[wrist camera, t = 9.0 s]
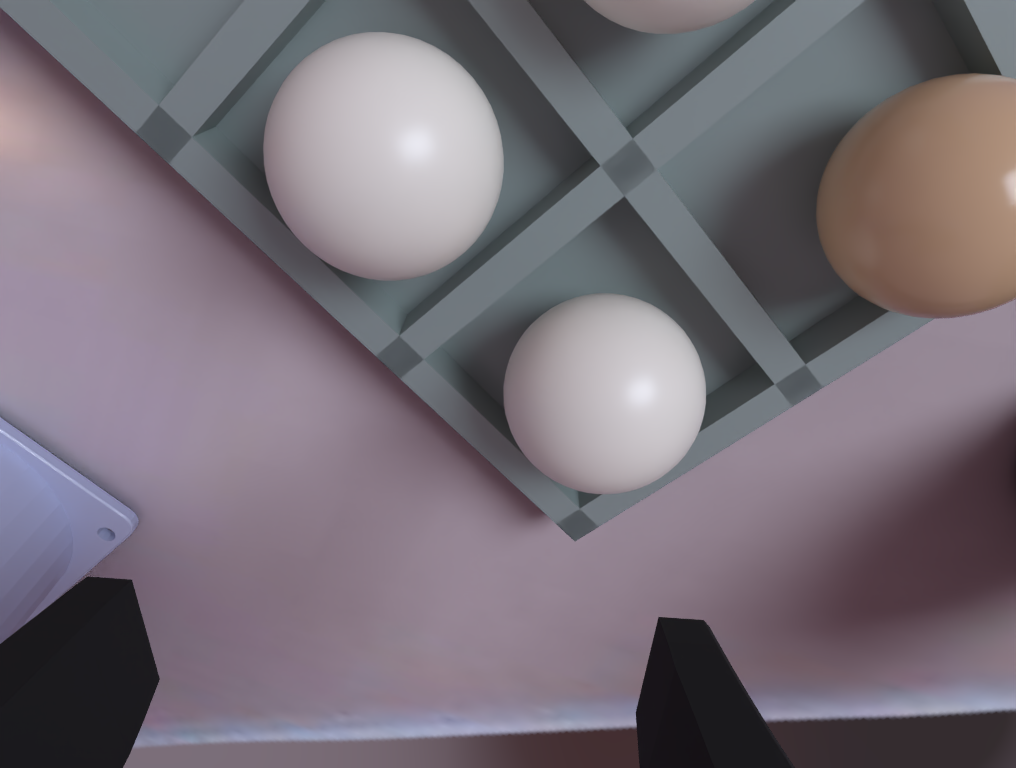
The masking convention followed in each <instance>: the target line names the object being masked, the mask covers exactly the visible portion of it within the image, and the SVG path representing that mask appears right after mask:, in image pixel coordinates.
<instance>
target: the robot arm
mask: <svg viewBox="0 0 1016 768" xmlns="http://www.w3.org/2000/svg"><path fill="white" fill-rule="evenodd" d="M137 526H138V518H137V516H136V514H135V513H134V512H133V511H132V510H131V509H130V508H128V507H127V506H125V505H124V504H122V503H121V502H120V501H118V500H117V499H115V498H114V497H113V496H111V495H110V494H108V493H107V492H105V491H104V490H103V489H101V488H100V487H98V486H97V485H96V484H94V483H93V482H91V481H90V480H88V479H87V478H86V477H84V476H83V475H81V474H80V473H79V472H77V471H76V470H74V469H73V468H71V467H70V466H69V465H67V464H66V463H64V462H63V461H62V460H60V459H59V458H57V457H56V456H54V455H53V454H52V453H50V452H49V451H47V450H46V449H45V448H43V447H42V446H40V445H39V444H37V443H36V442H35V441H33V440H32V439H30V438H29V437H28V436H26V435H25V434H23V433H22V432H20V431H19V430H18V429H16V428H15V427H13V426H12V425H11V424H9V423H8V422H6V421H5V420H3V419H2V418H1V417H0V768H123V766H124V764H125V762H126V760H127V758H128V757H129V754H130V752H131V750H132V747H133V745H134V743H135V740H136V738H137V735H138V733H139V731H140V728H141V726H142V723H143V721H144V718H145V716H146V713H147V711H148V708H149V706H150V703H151V700H152V698H153V695H154V693H155V690H156V687H157V685H158V682H159V680H160V679H159V675H158V672H157V668H156V664H155V661H154V657H153V654H152V650H151V647H150V643H149V639H148V636H147V632H146V629H145V625H144V622H143V618H142V614H141V611H140V607H139V604H138V600H137V596H136V593H135V589H134V586H133V582H132V580H127V579H113V578H99V577H86V578H85V579H84V580H82V581H81V582H80V583H78V584H77V585H76V586H74V587H73V588H72V589H70V590H69V591H68V592H66V591H67V590H68V589H69V588H70V587H72V586H73V585H74V584H75V583H76V582H77V581H79V580H80V579H81V578H82V577H83V576H84V575H85V574H87V573H88V572H89V571H90V570H91V569H92V568H93V567H95V566H96V565H97V564H98V563H99V562H100V561H102V560H103V559H104V558H105V557H106V556H107V555H108V554H110V553H111V552H112V551H113V550H114V549H115V548H116V547H118V546H119V545H120V544H121V543H122V542H123V541H125V540H126V539H127V538H128V537H129V536H130V535H131V534H132V533H133V531H134V530H135V529H136V527H137ZM107 528H108V529H110V530H112V531H113V532H112V531H110V530H108V529H107ZM65 592H66V593H65ZM64 593H65V594H64ZM62 594H64V595H62ZM61 595H62V596H61ZM60 596H61V597H60ZM59 597H60V598H59ZM54 601H55V602H54ZM636 722H637V735H638V750H639V763H640V768H795V767H794V766H793V764H792V763H791V761H790V760H789V758H788V757H787V755H786V754H785V752H784V750H783V749H782V748H781V746H780V745H779V743H778V741H777V740H776V738H775V737H774V735H773V733H772V732H771V730H770V729H769V727H768V726H767V724H766V722H765V721H764V719H763V718H762V716H761V714H760V713H759V711H758V709H757V708H756V706H755V704H754V703H753V701H752V700H751V698H750V696H749V695H748V693H747V691H746V690H745V688H744V686H743V685H742V683H741V681H740V680H739V678H738V676H737V674H736V673H735V671H734V669H733V668H732V666H731V664H730V662H729V661H728V659H727V657H726V655H725V654H724V652H723V650H722V648H721V647H720V645H719V643H718V641H717V640H716V638H715V636H714V634H713V632H712V630H711V629H710V627H709V626H708V625H707V624H706V622H705V621H704V620H694V619H679V618H665V617H659V618H658V622H657V626H656V631H655V635H654V639H653V643H652V647H651V651H650V656H649V660H648V664H647V668H646V672H645V677H644V681H643V685H642V689H641V693H640V698H639V702H638V706H637V710H636Z"/></svg>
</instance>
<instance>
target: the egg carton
mask: <svg viewBox="0 0 1016 768" xmlns="http://www.w3.org/2000/svg"><path fill="white" fill-rule="evenodd" d="M0 8H1V9H3V10H4V11H5V12H6V13H7V14H8V15H9V16H10V17H11V18H12V19H13V20H14V21H15V22H17V23H18V24H19V25H20V26H21V27H22V28H23V29H24V30H25V31H26V32H27V33H28V34H29V35H31V36H32V37H33V38H34V39H35V40H36V41H37V42H38V43H39V44H40V45H41V46H42V47H43V48H45V49H46V50H47V51H48V52H49V53H50V54H51V55H52V56H53V57H54V58H55V59H56V60H57V61H59V62H60V63H61V64H62V65H63V66H64V67H65V68H66V69H67V70H68V71H69V72H70V73H71V74H72V75H74V76H75V77H76V78H77V79H78V80H79V81H80V82H81V83H82V84H83V85H84V86H85V87H86V88H88V89H89V90H90V91H91V92H92V93H93V94H94V95H95V96H96V97H97V98H98V99H99V100H100V101H102V102H103V103H104V104H105V105H106V106H107V107H108V108H109V109H110V110H111V111H112V112H113V113H114V114H116V115H117V116H118V117H119V118H120V119H121V120H122V121H123V122H124V123H125V124H126V125H127V126H128V127H130V128H131V129H132V130H133V131H134V132H135V133H136V134H137V135H138V136H139V137H140V138H141V139H142V140H144V141H145V142H146V143H147V144H148V145H149V146H150V147H151V148H152V149H153V150H154V151H155V152H156V153H158V154H159V155H160V156H161V157H162V158H163V159H164V160H165V161H166V162H167V163H168V164H169V165H170V166H172V167H173V168H174V169H175V170H176V171H177V172H178V173H179V174H180V175H181V176H182V177H183V178H184V179H186V180H187V181H188V182H189V183H190V184H191V185H192V186H193V187H194V188H195V189H196V190H197V191H198V192H199V193H201V194H202V195H203V196H204V197H205V198H206V199H207V200H208V201H209V202H210V203H211V204H212V205H213V206H215V207H216V208H217V209H218V210H219V211H220V212H221V213H222V214H223V215H224V216H225V217H226V218H227V219H229V220H230V221H231V222H232V223H233V224H234V225H235V226H236V227H237V228H238V229H239V230H240V231H241V232H243V233H244V234H245V235H246V236H247V237H248V238H249V239H250V240H251V241H252V242H253V243H254V244H255V245H257V246H258V247H259V248H260V249H261V250H262V251H263V252H264V253H265V254H266V255H267V256H268V257H269V258H271V259H272V260H273V261H274V262H275V263H276V264H277V265H278V266H279V267H280V268H281V269H282V270H283V271H285V272H286V273H287V274H288V275H289V276H290V277H291V278H292V279H293V280H294V281H295V282H296V283H297V284H299V285H300V286H301V287H302V288H303V289H304V290H305V291H306V292H307V293H308V294H309V295H310V296H311V297H312V298H314V299H315V300H316V301H317V302H318V303H319V304H320V305H321V306H322V307H323V308H324V309H325V310H326V311H328V312H329V313H330V314H331V315H332V316H333V317H334V318H335V319H336V320H337V321H338V322H339V323H340V324H342V325H343V326H344V327H345V328H346V329H347V330H348V331H349V332H350V333H351V334H352V335H353V336H354V337H356V338H357V339H358V340H359V341H360V342H361V343H362V344H363V345H364V346H365V347H366V348H367V349H368V350H370V351H371V352H372V353H373V354H374V355H375V356H376V357H377V358H378V359H379V360H380V361H381V362H382V363H384V364H385V365H386V366H387V367H388V368H389V369H390V370H391V371H392V372H393V373H394V374H395V375H396V376H398V377H399V378H400V379H401V380H402V381H403V382H404V383H405V384H406V385H407V386H408V387H409V388H410V389H412V390H413V391H414V392H415V393H416V394H417V395H418V396H419V397H420V398H421V399H422V400H423V401H424V402H425V403H427V404H428V405H429V406H430V407H431V408H432V409H433V410H434V411H435V412H436V413H437V414H438V415H439V416H441V417H442V418H443V419H444V420H445V421H446V422H447V423H448V424H449V425H450V426H451V427H452V428H453V429H455V430H456V431H457V432H458V433H459V434H460V435H461V436H462V437H463V438H464V439H465V440H466V441H467V442H469V443H470V444H471V445H472V446H473V447H474V448H475V449H476V450H477V451H478V452H479V453H480V454H481V455H483V456H484V457H485V458H486V459H487V460H488V461H489V462H490V463H491V464H492V465H493V466H494V467H495V468H497V469H498V470H499V471H500V472H501V473H502V474H503V475H504V476H505V477H506V478H507V479H508V480H509V481H511V482H512V483H513V484H514V485H515V486H516V487H517V488H518V489H519V490H520V491H521V492H522V493H523V494H525V495H526V496H527V497H528V498H529V499H530V500H531V501H532V502H533V503H534V504H535V505H536V506H537V507H539V508H540V509H541V510H542V511H543V512H544V513H545V514H546V515H547V516H548V517H549V518H550V519H551V520H552V521H554V522H555V523H556V524H557V525H558V526H559V527H560V528H561V529H562V530H563V531H564V532H565V533H566V534H568V535H569V536H570V537H571V538H572V539H573V540H574V541H576V540H578V539H580V538H581V537H583V536H585V535H586V534H588V533H589V532H591V531H593V530H594V529H596V528H597V527H599V526H601V525H602V524H604V523H606V522H607V521H609V520H610V519H612V518H614V517H615V516H617V515H618V514H620V513H622V512H623V511H625V510H626V509H628V508H630V507H631V506H633V505H635V504H636V503H638V502H639V501H641V500H643V499H644V498H646V497H647V496H649V495H651V494H652V493H654V492H656V491H657V490H659V489H660V488H662V487H664V486H665V485H667V484H668V483H670V482H672V481H673V480H675V479H677V478H678V477H680V476H681V475H683V474H685V473H686V472H688V471H689V470H691V469H693V468H694V467H696V466H697V465H699V464H701V463H702V462H704V461H706V460H707V459H709V458H710V457H712V456H714V455H715V454H717V453H718V452H720V451H722V450H723V449H725V448H727V447H728V446H730V445H731V444H733V443H735V442H736V441H738V440H739V439H741V438H743V437H744V436H746V435H748V434H749V433H751V432H752V431H754V430H756V429H757V428H759V427H760V426H762V425H764V424H765V423H767V422H769V421H770V420H772V419H773V418H775V417H777V416H778V415H780V414H781V413H783V412H785V411H786V410H788V409H789V408H791V407H793V406H794V405H796V404H798V403H799V402H801V401H802V400H804V399H806V398H807V397H809V396H810V395H812V394H814V393H815V392H817V391H819V390H820V389H822V388H823V387H825V386H827V385H828V384H830V383H831V382H833V381H835V380H836V379H838V378H840V377H841V376H843V375H844V374H846V373H848V372H849V371H851V370H852V369H854V368H856V367H857V366H859V365H860V364H862V363H864V362H865V361H867V360H869V359H870V358H872V357H873V356H875V355H877V354H878V353H880V352H881V351H883V350H885V349H886V348H888V347H890V346H891V345H893V344H894V343H896V342H898V341H899V340H901V339H902V338H904V337H906V336H907V335H909V334H911V333H912V332H914V331H915V330H917V329H919V328H920V327H922V326H923V325H925V324H927V323H928V322H930V321H932V320H933V319H935V318H920V317H912V316H907V315H903V314H899V313H895V312H892V311H889V310H886V309H884V308H881V307H879V306H877V305H875V304H873V303H871V302H870V301H868V300H866V299H864V298H863V297H861V296H860V295H858V294H857V293H856V292H854V291H853V290H852V289H851V288H850V287H849V286H848V285H847V284H846V283H845V282H844V281H843V280H842V279H841V278H840V277H839V276H838V275H837V273H836V272H835V270H834V269H833V267H832V266H831V264H830V263H829V261H828V259H827V258H826V255H825V253H824V250H823V248H822V245H821V242H820V239H819V234H818V229H817V223H816V205H817V195H818V189H819V185H820V181H821V178H822V175H823V172H824V170H825V168H826V165H827V163H828V161H829V159H830V157H831V155H832V153H833V152H834V150H835V148H836V147H837V145H838V144H839V142H840V141H841V140H842V138H843V137H844V136H845V135H846V133H847V132H848V131H849V130H850V129H851V128H852V127H853V126H854V125H855V124H856V123H857V122H858V121H859V120H860V118H861V117H863V116H864V115H865V114H866V113H867V112H868V111H870V110H871V109H873V108H874V107H875V106H877V105H878V104H880V103H881V102H882V101H884V100H885V99H887V98H888V97H890V96H892V95H894V94H896V93H898V92H900V91H902V90H904V89H906V88H908V87H910V86H913V85H916V84H919V83H922V82H925V81H928V80H931V79H934V78H939V77H944V76H949V75H956V74H969V73H980V74H991V75H1002V76H1006V77H1010V78H1014V79H1016V0H0Z"/></svg>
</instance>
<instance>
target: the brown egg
mask: <svg viewBox="0 0 1016 768" xmlns="http://www.w3.org/2000/svg"><path fill="white" fill-rule="evenodd" d="M816 223H817V229H818V234H819V239H820V242H821V245H822V248H823V250H824V253H825V255H826V258H827V259H828V261H829V263H830V264H831V266H832V267H833V269H834V270H835V272H836V273H837V275H838V276H839V277H840V278H841V279H842V280H843V281H844V282H845V283H846V284H847V285H848V286H849V287H850V288H851V289H852V290H853V291H854V292H856V293H857V294H858V295H860V296H861V297H863V298H864V299H866V300H868V301H870V302H871V303H873V304H875V305H877V306H879V307H881V308H884V309H886V310H889V311H892V312H895V313H899V314H903V315H907V316H912V317H920V318H935V319H937V318H956V317H962V316H968V315H973V314H977V313H981V312H984V311H988V310H991V309H994V308H997V307H999V306H1001V305H1004V304H1006V303H1008V302H1011V301H1013V300H1015V299H1016V79H1014V78H1010V77H1006V76H1002V75H991V74H980V73H969V74H956V75H949V76H944V77H939V78H934V79H931V80H928V81H925V82H922V83H919V84H916V85H913V86H910V87H908V88H906V89H904V90H902V91H900V92H898V93H896V94H894V95H892V96H890V97H888V98H887V99H885V100H884V101H882V102H881V103H880V104H878V105H877V106H875V107H874V108H873V109H871V110H870V111H868V112H867V113H866V114H865V115H864V116H863V117H861V118H860V120H859V121H858V122H857V123H856V124H855V125H854V126H853V127H852V128H851V129H850V130H849V131H848V132H847V133H846V135H845V136H844V137H843V138H842V140H841V141H840V142H839V144H838V145H837V147H836V148H835V150H834V152H833V153H832V155H831V157H830V159H829V161H828V163H827V165H826V168H825V170H824V172H823V175H822V178H821V181H820V185H819V189H818V195H817V205H816Z"/></svg>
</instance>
